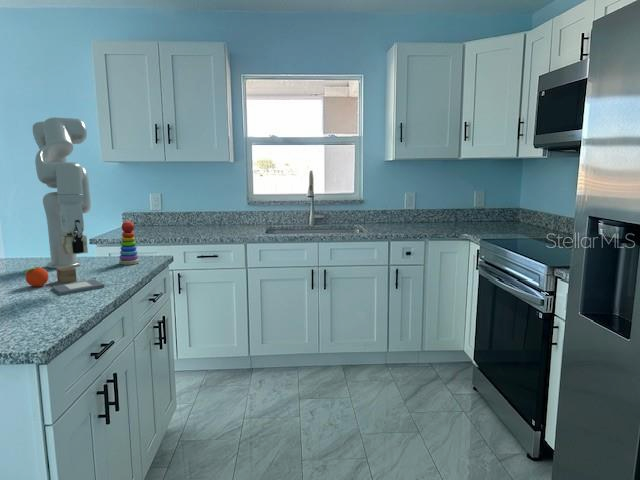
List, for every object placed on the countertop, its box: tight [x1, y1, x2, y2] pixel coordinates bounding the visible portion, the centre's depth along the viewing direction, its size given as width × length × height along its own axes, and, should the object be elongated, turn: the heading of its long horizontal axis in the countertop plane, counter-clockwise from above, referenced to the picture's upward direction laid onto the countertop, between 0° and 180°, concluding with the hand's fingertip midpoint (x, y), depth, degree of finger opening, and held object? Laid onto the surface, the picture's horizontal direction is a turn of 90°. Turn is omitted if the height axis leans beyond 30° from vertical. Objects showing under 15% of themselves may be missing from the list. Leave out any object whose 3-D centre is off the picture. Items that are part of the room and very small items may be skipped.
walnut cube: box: [56, 267, 78, 285], centre depth 164 cm, size 5×5×5 cm
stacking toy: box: [118, 220, 140, 266], centre depth 194 cm, size 8×8×19 cm
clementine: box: [22, 266, 49, 288], centre depth 157 cm, size 8×7×7 cm
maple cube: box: [62, 234, 88, 255], centre depth 153 cm, size 6×6×6 cm
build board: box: [51, 279, 105, 296], centre depth 155 cm, size 10×14×1 cm
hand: (75, 250), depth 153 cm, fingers closed on maple cube, 6 cm apart
